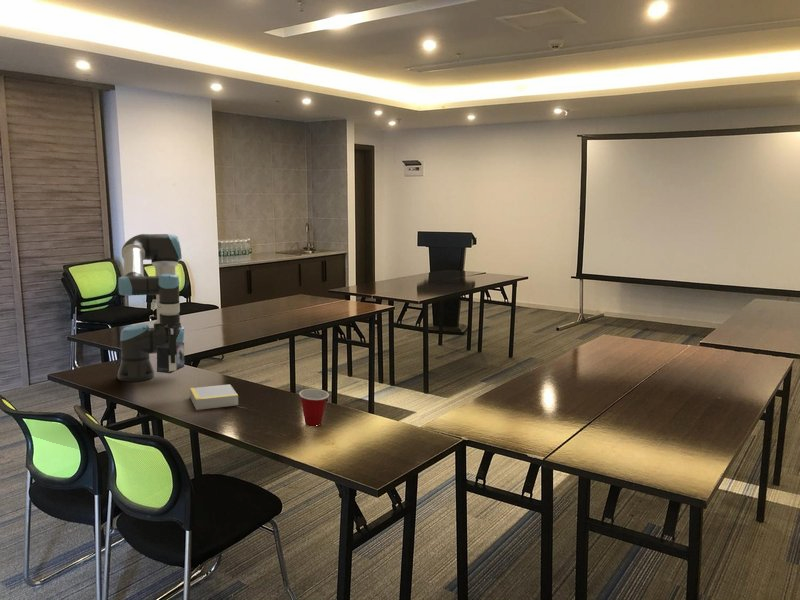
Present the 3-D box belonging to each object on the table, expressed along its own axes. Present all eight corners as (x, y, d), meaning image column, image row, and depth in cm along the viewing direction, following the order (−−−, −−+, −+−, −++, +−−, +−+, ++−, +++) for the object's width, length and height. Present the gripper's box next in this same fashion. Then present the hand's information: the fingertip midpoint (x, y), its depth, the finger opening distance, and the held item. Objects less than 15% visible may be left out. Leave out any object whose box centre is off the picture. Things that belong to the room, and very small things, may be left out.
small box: (171, 374, 247) (170, 348, 245) (156, 372, 248) (155, 346, 246) (185, 366, 257) (184, 341, 255) (171, 365, 258) (170, 340, 256)
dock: (190, 397, 256) (190, 387, 256) (230, 393, 263) (230, 384, 263) (196, 409, 242) (196, 399, 242) (238, 405, 249) (238, 395, 249)
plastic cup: (316, 431, 224) (316, 399, 222) (292, 425, 229) (292, 393, 227) (334, 423, 233) (335, 391, 231) (311, 417, 238) (312, 386, 237)
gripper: (156, 308, 257) (158, 359, 261) (162, 320, 236) (164, 375, 240) (175, 307, 261) (177, 357, 265) (183, 319, 240) (184, 373, 244)
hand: (170, 366), depth 252 cm, fingers closed on small box, 12 cm apart
